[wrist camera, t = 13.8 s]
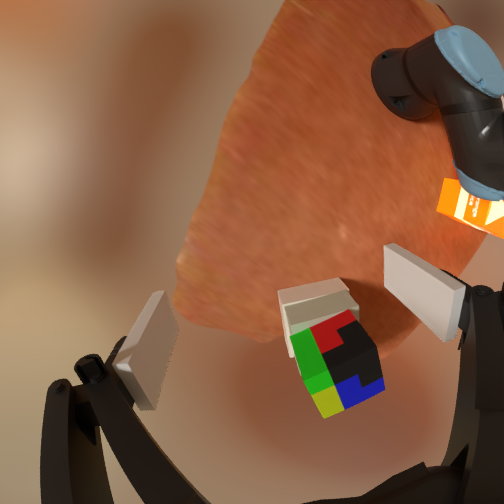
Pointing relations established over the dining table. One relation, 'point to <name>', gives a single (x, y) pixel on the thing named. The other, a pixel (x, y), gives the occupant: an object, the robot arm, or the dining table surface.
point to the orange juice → (471, 209)
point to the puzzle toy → (338, 363)
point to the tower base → (305, 299)
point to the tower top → (318, 311)
